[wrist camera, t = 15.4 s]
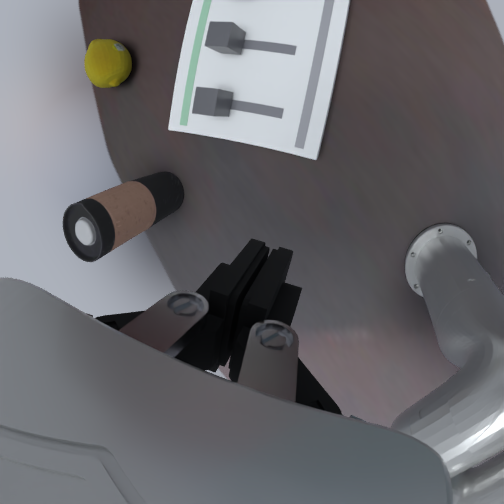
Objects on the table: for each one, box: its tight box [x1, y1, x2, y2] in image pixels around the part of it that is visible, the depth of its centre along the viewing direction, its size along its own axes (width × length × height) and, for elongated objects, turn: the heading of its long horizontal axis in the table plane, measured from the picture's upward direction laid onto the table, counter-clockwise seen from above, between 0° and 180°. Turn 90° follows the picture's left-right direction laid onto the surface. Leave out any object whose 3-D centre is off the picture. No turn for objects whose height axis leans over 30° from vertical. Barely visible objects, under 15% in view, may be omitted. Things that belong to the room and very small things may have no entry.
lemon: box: [85, 39, 132, 88], centre depth 37 cm, size 11×8×8 cm
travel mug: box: [63, 172, 184, 262], centre depth 40 cm, size 8×8×20 cm
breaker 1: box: [205, 21, 246, 55], centre depth 30 cm, size 3×4×5 cm
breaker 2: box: [192, 87, 233, 117], centre depth 34 cm, size 3×4×5 cm
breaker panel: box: [168, 0, 350, 160], centre depth 34 cm, size 22×28×3 cm
